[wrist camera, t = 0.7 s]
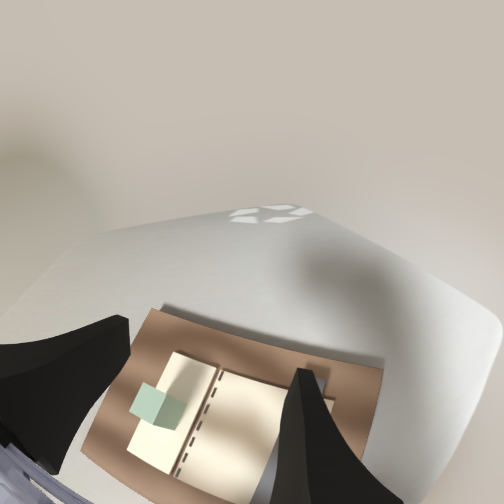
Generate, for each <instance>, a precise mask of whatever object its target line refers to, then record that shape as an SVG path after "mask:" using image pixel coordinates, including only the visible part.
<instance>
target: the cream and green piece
mask: <svg viewBox="0 0 504 504" xmlns="http://www.w3.org/2000/svg"><path fill="white" fill-rule="evenodd" d="M216 372H217V368H215V367H212V366H209V365H207V364H204V363H201V362H199V361H196V360H193V359H191V358H188V357H185V356H183V355H180V354H178V353H175V352H173V353H172V355H171V357H170V359H169V362H168V364H167V366H166V368H165V370H164V372H163V374H162V376H161V378H160V380H159V382H158V384H157V386H156V388H154V387H152V386H150V385H148V384H146V383H144V382H143V383H142V386H141V388H140V390H139V392H138V394H137V396H136V398H135V400H134V402H133V404H132V406H131V408H130V410H129V412H131V413H133V414H134V415H136V416H138V417H139V418H141V420H140V422H139V424H138V426H137V428H136V430H135V433H134V435H133V437H132V439H131V441H130V443H129V446H128V448H127V451H129V452H131V453H132V454H134V455H135V456H137V457H139V458H140V459H142V460H143V461H145V462H147V463H149V464H150V465H152V466H154V467H155V468H157V469H159V470H161V471H163V472H165V473H166V474H168V475H170V474H171V472H172V470H173V468H174V466H175V463H176V461H177V459H178V457H179V455H180V452H181V450H182V448H183V446H184V444H185V441H186V439H187V437H188V435H189V433H190V430H191V428H192V426H193V424H194V421H195V419H196V417H197V415H198V412H199V410H200V408H201V406H202V403H203V401H204V399H205V397H206V394H207V392H208V390H209V388H210V385H211V383H212V381H213V378H214V376H215V374H216Z"/></svg>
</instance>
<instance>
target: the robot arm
mask: <svg viewBox="0 0 504 504" xmlns="http://www.w3.org/2000/svg"><path fill="white" fill-rule="evenodd" d="M130 355H131V349H130V336H129V319H128V318H125V317H122V316H120V315H114V316H111V317H108V318H105V319H103V320H100V321H98V322H95V323H92V324H90V325H87V326H85V327H82V328H79V329H77V330H74V331H71V332H68V333H65V334H62V335H59V336H55V337H52V338H48V339H43V340H39V341H34V342H26V343H18V344H0V504H55V503H54V502H53V501H52V500H50V499H49V498H48V497H47V496H46V495H45V494H44V493H43V492H41V491H40V490H39V489H38V488H37V487H35V486H34V485H33V484H32V483H31V482H30V478H31V479H32V480H34V481H35V482H36V483H37V484H39V485H40V486H41V487H42V488H44V489H45V490H46V491H48V492H49V493H50V494H52V495H53V496H55V497H56V498H57V499H59V500H60V501H62V502H63V503H65V504H94V503H92V502H90V501H88V500H87V499H85V498H83V497H82V496H80V495H79V494H77V493H75V492H74V491H72V490H71V489H69V488H68V487H66V486H65V485H63V484H62V483H60V482H59V481H57V480H56V479H55V478H53V477H52V476H51V475H58V474H59V471H60V468H61V465H62V463H63V460H64V458H65V455H66V453H67V451H68V449H69V446H70V444H71V442H72V440H73V438H74V436H75V434H76V432H77V431H78V429H79V427H80V425H81V423H82V422H83V420H84V418H85V417H86V415H87V414H88V412H89V410H90V409H91V408H92V406H93V405H94V403H95V402H96V401H97V400H98V399H99V397H100V396H101V395H102V394H103V393H104V391H105V390H106V389H107V388H108V386H109V385H110V384H111V383H112V382H113V380H114V379H115V378H116V377H117V376H118V374H119V373H120V372H121V370H122V369H123V367H124V365H125V364H126V362H127V360H128V359H129V357H130ZM29 458H30V459H31V460H32V461H31V460H30V459H29ZM35 463H36V464H37V465H38V466H37V465H36V464H35ZM39 466H40V467H41V468H42V469H41V468H40V467H39ZM43 469H44V470H45V471H46V472H45V471H44V470H43ZM47 472H48V473H49V474H50V475H49V474H48V473H47ZM269 504H404V503H403V501H402V500H401V499H399V498H398V497H397V496H396V495H394V494H393V493H392V492H391V491H389V490H388V489H387V488H386V487H384V486H383V485H382V484H381V483H380V482H379V481H378V480H377V479H376V478H375V477H374V476H373V475H372V474H371V473H370V472H369V471H368V470H367V468H366V467H365V466H364V465H363V464H362V463H361V461H360V460H359V459H358V458H357V457H356V455H355V454H354V452H353V451H352V450H351V448H350V447H349V445H348V444H347V442H346V441H345V439H344V438H343V436H342V434H341V433H340V431H339V429H338V427H337V426H336V424H335V422H334V420H333V418H332V416H331V414H330V412H329V410H328V407H327V405H326V403H325V401H324V398H323V396H322V393H321V391H320V388H319V386H318V383H317V380H316V377H315V374H314V372H313V371H312V370H308V369H303V368H298V367H297V369H296V372H295V375H294V377H293V380H292V382H291V385H290V387H289V390H288V392H287V395H286V397H285V400H284V404H283V409H282V414H281V420H280V431H279V445H278V459H277V469H276V476H275V481H274V485H273V490H272V495H271V499H270V503H269Z"/></svg>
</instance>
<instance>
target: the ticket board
mask: <svg viewBox="0 0 504 504" xmlns="http://www.w3.org/2000/svg"><path fill="white" fill-rule="evenodd" d="M130 349H131V355H130V357H129V359H128V360H127V362H126V364H125V365H124V367H123V369H122V370H121V372H120V373H119V374H118V376H117V377H116V378H115V379H114V380H113V382H112V383H111V385H110V387H109V389H108V391H107V393H106V395H105V398H104V400H103V402H102V404H101V406H100V408H99V410H98V412H97V414H96V416H95V419H94V421H93V423H92V425H91V427H90V429H89V432H88V434H87V436H86V438H85V441H84V443H83V445H82V447H81V450H80V451H81V452H82V453H83V454H85V455H86V456H87V457H88V458H89V459H91V460H92V461H93V462H94V463H96V464H97V465H98V466H100V467H101V468H102V469H103V470H105V471H106V472H107V473H109V474H110V475H112V476H113V477H114V478H116V479H117V480H119V481H120V482H121V483H123V484H124V485H126V486H127V487H129V488H130V489H132V490H134V491H135V492H137V493H138V494H140V495H141V496H143V497H145V498H146V499H148V500H150V501H152V502H153V503H155V504H269V503H270V499H271V495H272V490H273V485H274V481H275V476H276V469H277V459H278V445H279V431H280V420H281V414H282V409H283V404H284V400H285V397H286V395H287V392H288V390H289V387H290V385H291V382H292V380H293V377H294V375H295V372H296V369H297V367H298V368H303V369H308V370H312V371H313V372H314V374H315V377H316V380H317V383H318V386H319V388H320V391H321V393H322V396H323V398H324V401H325V403H326V405H327V407H328V410H329V412H330V414H331V416H332V418H333V420H334V422H335V424H336V426H337V427H338V429H339V431H340V433H341V434H342V436H343V438H344V439H345V441H346V442H347V444H348V445H349V447H350V448H351V450H352V451H353V452H354V454H355V455H356V457H357V458H358V459H359V460H360V461H361V458H362V455H363V452H364V448H365V445H366V442H367V438H368V435H369V431H370V427H371V424H372V420H373V416H374V412H375V408H376V403H377V399H378V395H379V390H380V385H381V380H382V375H383V369H379V368H373V367H367V366H362V365H356V364H351V363H346V362H341V361H336V360H331V359H326V358H322V357H317V356H313V355H308V354H304V353H300V352H295V351H291V350H287V349H283V348H279V347H275V346H272V345H268V344H264V343H260V342H257V341H253V340H249V339H246V338H242V337H239V336H235V335H232V334H229V333H225V332H222V331H219V330H215V329H212V328H209V327H206V326H203V325H200V324H197V323H194V322H191V321H188V320H185V319H182V318H179V317H176V316H173V315H170V314H167V313H164V312H162V311H159V310H156V309H153V308H152V309H151V310H150V312H149V314H148V316H147V317H146V319H145V321H144V323H143V325H142V326H141V328H140V330H139V332H138V334H137V336H136V337H135V339H134V341H133V343H132V345H131V347H130ZM173 352H175V353H178V354H180V355H183V356H185V357H188V358H191V359H193V360H196V361H199V362H201V363H204V364H207V365H209V366H212V367H215V368H217V372H216V374H215V376H214V378H213V381H212V383H211V385H210V388H209V390H208V392H207V394H206V397H205V399H204V401H203V403H202V406H201V408H200V410H199V412H198V415H197V417H196V419H195V421H194V424H193V426H192V428H191V430H190V433H189V435H188V437H187V439H186V441H185V444H184V446H183V448H182V450H181V452H180V455H179V457H178V459H177V461H176V463H175V466H174V468H173V470H172V472H171V474H170V475H168V474H166V473H165V472H163V471H161V470H159V469H157V468H155V467H154V466H152V465H150V464H149V463H147V462H145V461H143V460H142V459H140V458H139V457H137V456H135V455H134V454H132V453H131V452H129V451H127V448H128V446H129V443H130V441H131V439H132V437H133V435H134V433H135V430H136V428H137V426H138V424H139V422H140V420H141V418H139V417H138V416H136V415H134V414H133V413H131V412H129V410H130V408H131V406H132V404H133V402H134V400H135V398H136V396H137V394H138V392H139V390H140V388H141V386H142V383H143V382H144V383H146V384H148V385H150V386H152V387H154V388H156V386H157V384H158V382H159V380H160V378H161V376H162V374H163V372H164V370H165V368H166V366H167V364H168V362H169V359H170V357H171V355H172V353H173Z"/></svg>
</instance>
